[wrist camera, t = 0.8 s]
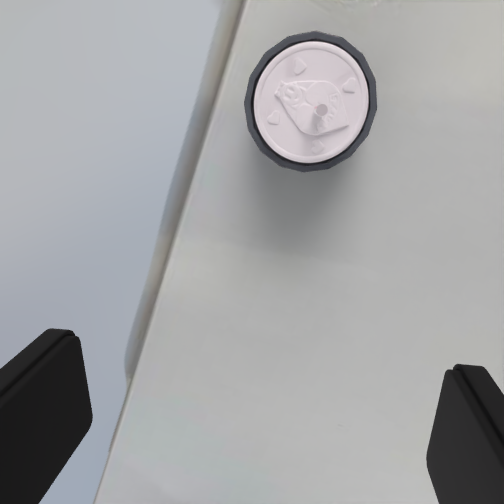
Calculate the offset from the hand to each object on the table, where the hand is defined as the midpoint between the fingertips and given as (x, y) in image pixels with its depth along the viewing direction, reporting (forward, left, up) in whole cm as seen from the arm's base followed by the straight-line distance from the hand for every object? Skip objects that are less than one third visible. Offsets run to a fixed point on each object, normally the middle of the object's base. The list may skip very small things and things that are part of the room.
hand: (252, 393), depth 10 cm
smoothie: (-6, -3, -25) cm, 26 cm away
